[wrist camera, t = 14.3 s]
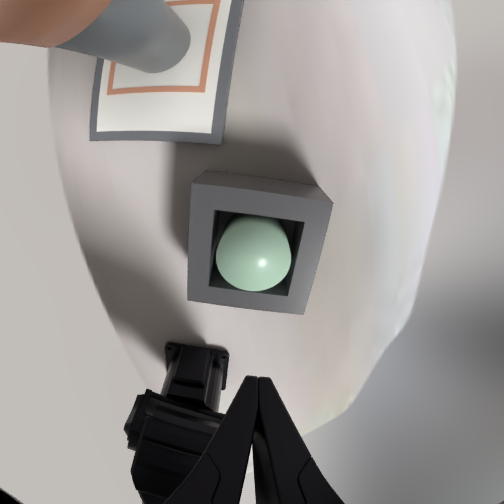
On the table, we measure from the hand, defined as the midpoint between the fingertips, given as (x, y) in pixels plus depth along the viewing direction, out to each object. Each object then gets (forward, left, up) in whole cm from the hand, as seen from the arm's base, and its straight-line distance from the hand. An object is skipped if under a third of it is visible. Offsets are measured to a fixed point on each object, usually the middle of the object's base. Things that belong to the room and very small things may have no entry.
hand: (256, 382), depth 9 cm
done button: (0, 0, -11) cm, 12 cm away
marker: (+13, +8, -12) cm, 20 cm away
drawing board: (+13, +8, -13) cm, 20 cm away
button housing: (0, 0, -13) cm, 13 cm away
